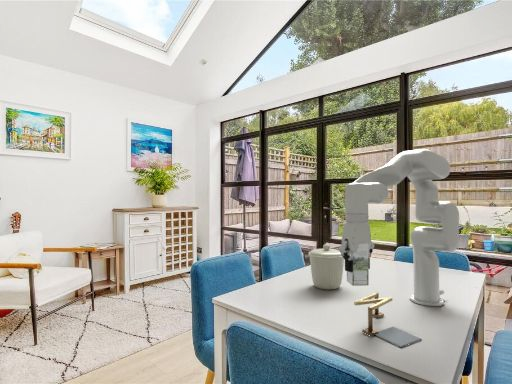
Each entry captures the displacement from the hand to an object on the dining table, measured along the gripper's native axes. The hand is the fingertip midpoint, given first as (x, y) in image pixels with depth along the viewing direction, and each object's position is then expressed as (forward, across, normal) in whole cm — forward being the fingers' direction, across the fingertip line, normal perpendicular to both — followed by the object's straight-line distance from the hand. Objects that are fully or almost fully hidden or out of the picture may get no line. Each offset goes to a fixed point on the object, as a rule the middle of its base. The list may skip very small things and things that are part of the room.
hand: (357, 269), depth 106 cm
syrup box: (+5, 0, 0) cm, 5 cm away
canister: (+20, -22, -40) cm, 50 cm away
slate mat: (+20, -4, +12) cm, 23 cm away
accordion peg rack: (+20, -6, +1) cm, 21 cm away
